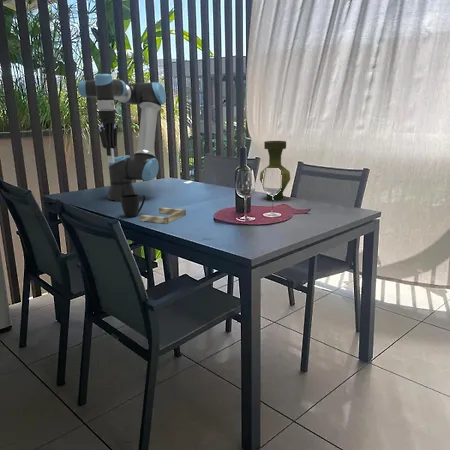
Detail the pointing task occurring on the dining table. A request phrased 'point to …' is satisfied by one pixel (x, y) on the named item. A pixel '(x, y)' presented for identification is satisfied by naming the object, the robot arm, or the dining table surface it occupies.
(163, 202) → the dining table surface
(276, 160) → the vase
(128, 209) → the mug
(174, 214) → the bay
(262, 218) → the dining table surface
